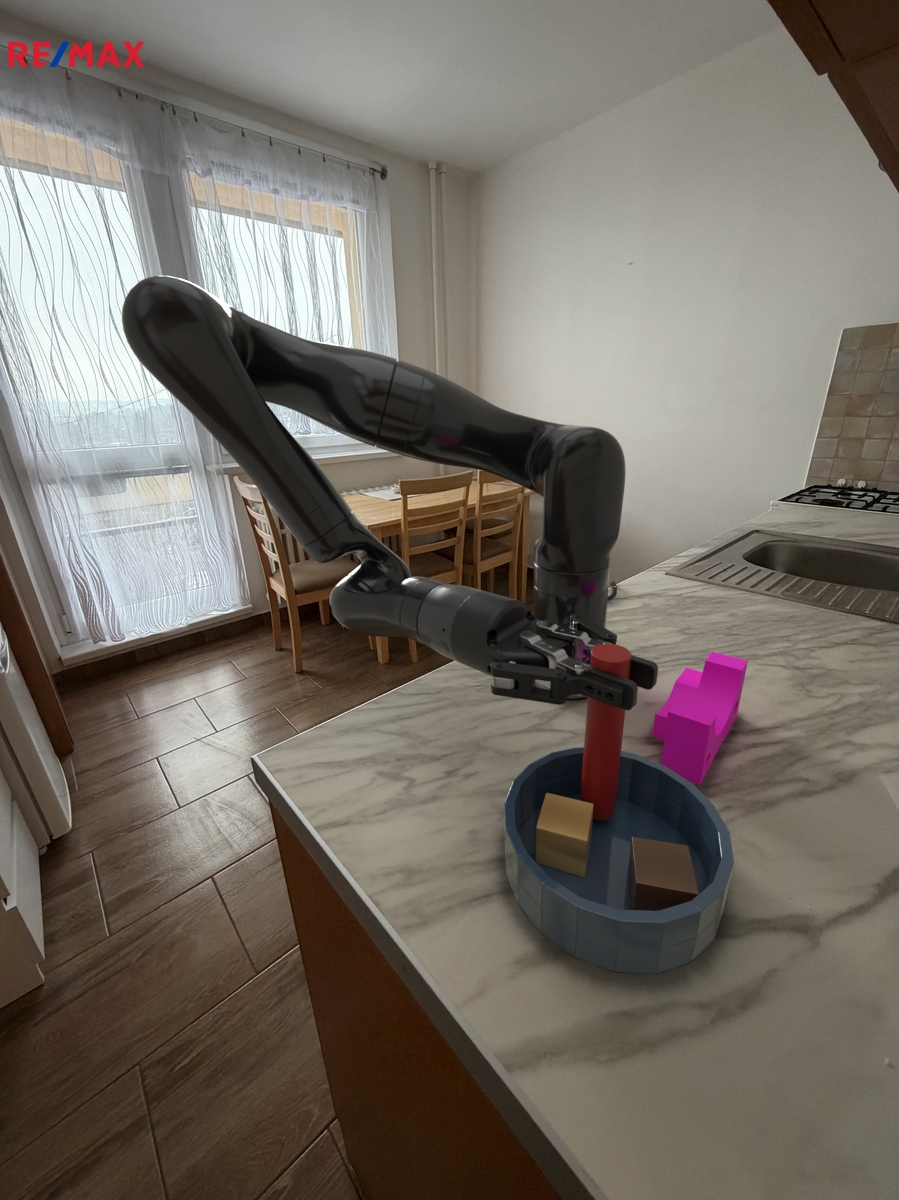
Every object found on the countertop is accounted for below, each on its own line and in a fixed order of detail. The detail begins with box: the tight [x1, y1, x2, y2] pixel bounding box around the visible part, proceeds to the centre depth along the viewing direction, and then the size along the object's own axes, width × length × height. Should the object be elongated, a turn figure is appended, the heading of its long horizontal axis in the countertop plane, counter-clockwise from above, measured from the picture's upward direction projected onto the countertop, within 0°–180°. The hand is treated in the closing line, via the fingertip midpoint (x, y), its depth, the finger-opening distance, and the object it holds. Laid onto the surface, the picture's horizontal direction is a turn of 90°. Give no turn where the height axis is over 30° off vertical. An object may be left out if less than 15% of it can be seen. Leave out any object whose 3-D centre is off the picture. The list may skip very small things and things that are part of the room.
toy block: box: [652, 651, 749, 786], centre depth 53 cm, size 15×6×8 cm, turn 139°
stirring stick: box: [580, 644, 632, 821], centre depth 41 cm, size 3×3×16 cm
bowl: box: [503, 747, 735, 975], centre depth 39 cm, size 17×17×6 cm
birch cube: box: [536, 793, 594, 877], centre depth 40 cm, size 4×4×4 cm
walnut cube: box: [628, 837, 699, 911], centre depth 36 cm, size 4×4×4 cm
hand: (644, 686), depth 36 cm, fingers closed on stirring stick, 3 cm apart
